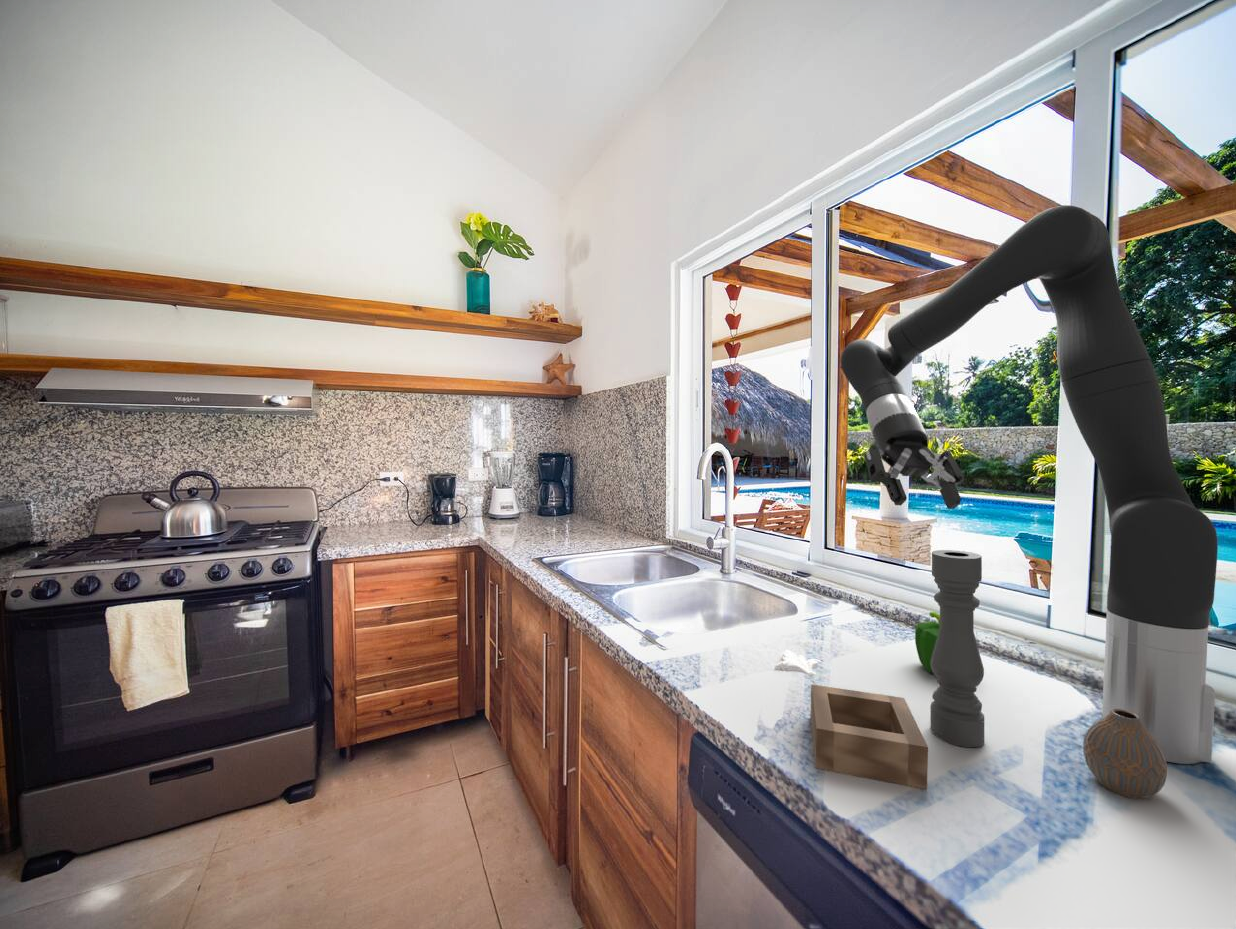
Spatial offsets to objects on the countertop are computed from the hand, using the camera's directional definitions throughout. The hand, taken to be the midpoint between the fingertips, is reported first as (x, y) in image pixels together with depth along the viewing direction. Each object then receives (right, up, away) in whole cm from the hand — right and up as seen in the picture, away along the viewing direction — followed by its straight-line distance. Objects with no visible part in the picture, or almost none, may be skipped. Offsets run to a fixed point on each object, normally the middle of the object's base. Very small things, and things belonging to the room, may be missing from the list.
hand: (928, 504), depth 77 cm
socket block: (-16, -31, -12) cm, 37 cm away
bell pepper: (+9, -31, +11) cm, 34 cm away
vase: (+11, -32, -19) cm, 39 cm away
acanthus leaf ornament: (-15, -31, +13) cm, 37 cm away
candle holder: (-1, -31, -8) cm, 32 cm away
